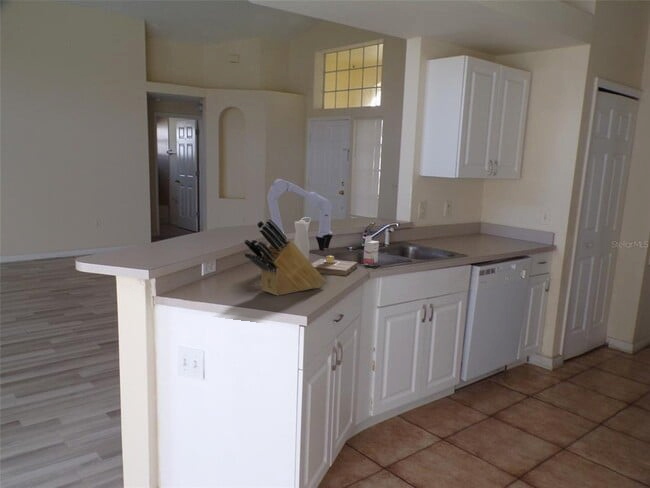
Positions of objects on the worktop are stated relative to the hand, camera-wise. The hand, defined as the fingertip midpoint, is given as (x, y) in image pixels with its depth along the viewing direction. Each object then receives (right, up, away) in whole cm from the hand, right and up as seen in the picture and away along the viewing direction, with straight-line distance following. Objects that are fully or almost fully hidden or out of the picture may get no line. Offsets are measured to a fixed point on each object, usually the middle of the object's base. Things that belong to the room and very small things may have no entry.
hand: (323, 249), depth 257 cm
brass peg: (+3, -10, -2) cm, 10 cm away
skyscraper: (-11, -13, -23) cm, 29 cm away
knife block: (-16, -17, -50) cm, 55 cm away
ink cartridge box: (+26, -8, +16) cm, 31 cm away
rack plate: (+4, -10, -4) cm, 12 cm away
